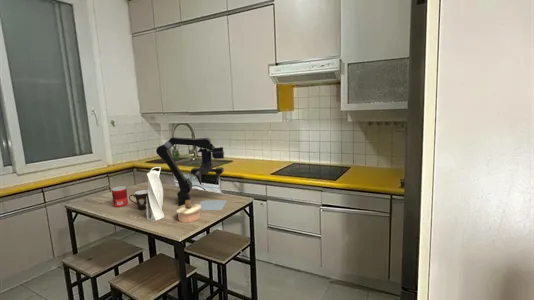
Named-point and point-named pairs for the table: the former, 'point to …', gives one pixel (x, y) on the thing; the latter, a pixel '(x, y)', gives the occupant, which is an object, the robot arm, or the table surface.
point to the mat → (212, 204)
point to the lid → (188, 208)
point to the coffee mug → (141, 199)
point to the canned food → (119, 196)
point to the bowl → (189, 217)
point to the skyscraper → (154, 196)
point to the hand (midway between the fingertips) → (208, 184)
